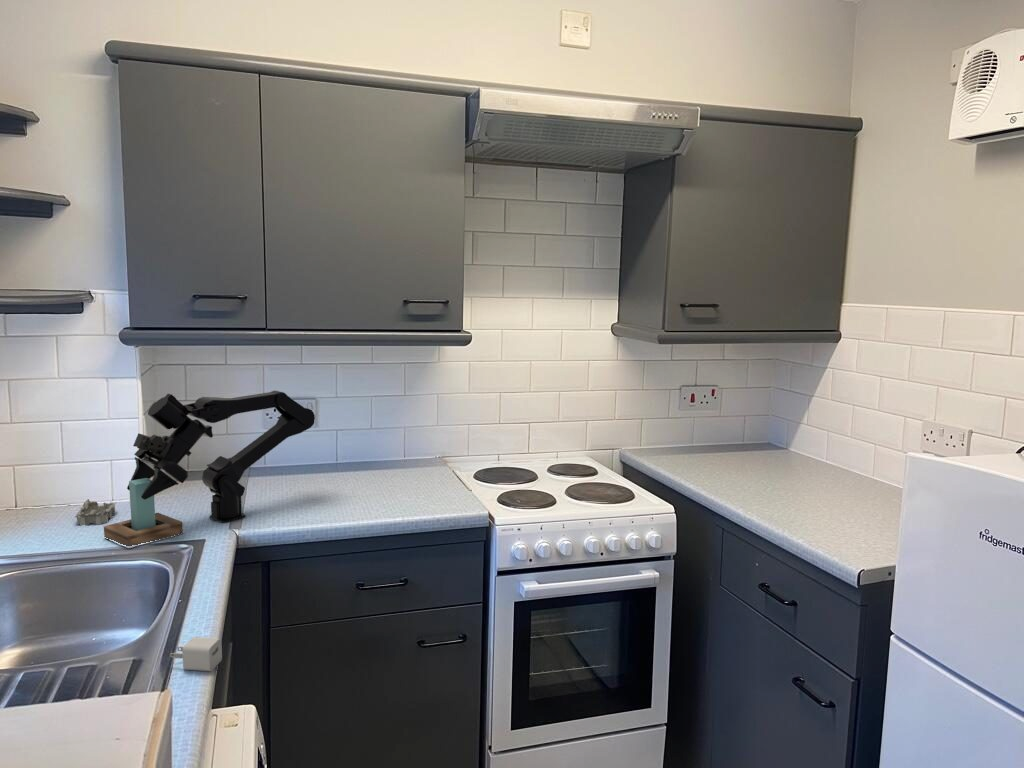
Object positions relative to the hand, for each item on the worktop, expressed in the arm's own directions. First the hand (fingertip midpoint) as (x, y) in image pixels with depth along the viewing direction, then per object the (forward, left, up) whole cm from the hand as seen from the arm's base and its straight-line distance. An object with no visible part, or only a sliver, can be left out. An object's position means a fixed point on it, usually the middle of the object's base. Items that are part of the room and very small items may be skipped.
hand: (135, 494), depth 170 cm
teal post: (-1, 0, -10) cm, 10 cm away
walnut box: (-1, 0, -11) cm, 11 cm away
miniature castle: (-1, -21, -11) cm, 24 cm away
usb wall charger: (+23, +63, -11) cm, 68 cm away
